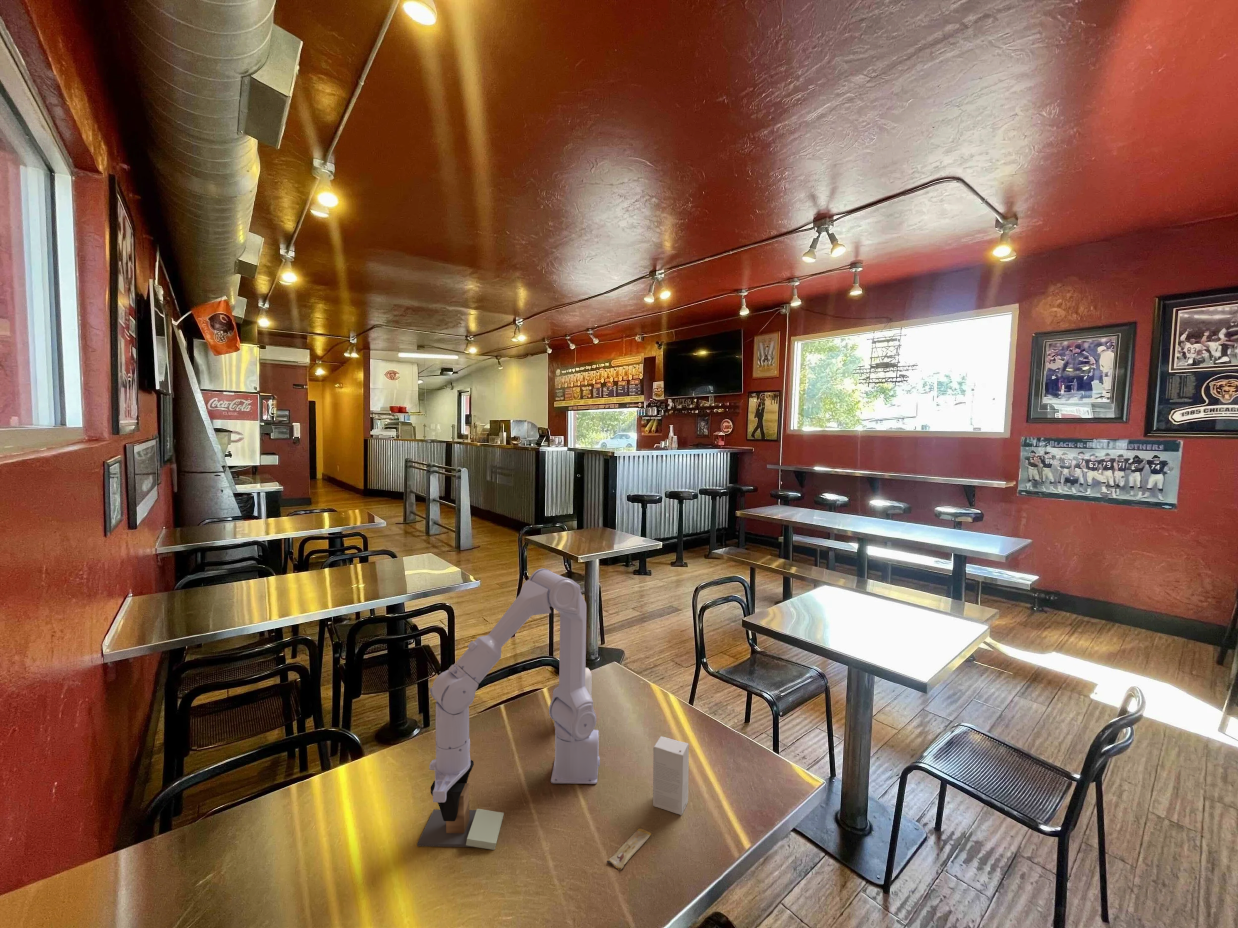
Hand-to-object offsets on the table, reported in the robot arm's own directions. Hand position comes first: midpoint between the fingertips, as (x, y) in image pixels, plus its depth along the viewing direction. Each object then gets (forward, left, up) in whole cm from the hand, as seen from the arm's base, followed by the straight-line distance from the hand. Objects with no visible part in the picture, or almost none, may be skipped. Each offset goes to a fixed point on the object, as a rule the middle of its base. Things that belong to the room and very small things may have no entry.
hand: (453, 811), depth 93 cm
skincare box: (-40, -7, -3) cm, 41 cm away
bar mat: (0, 0, -3) cm, 3 cm away
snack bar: (-32, +4, -4) cm, 32 cm away
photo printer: (-19, -36, -3) cm, 41 cm away
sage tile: (-9, +1, -3) cm, 9 cm away
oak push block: (-1, 0, -3) cm, 3 cm away
